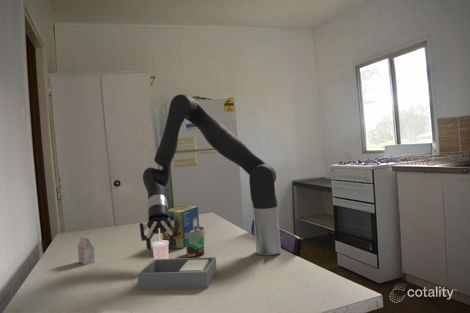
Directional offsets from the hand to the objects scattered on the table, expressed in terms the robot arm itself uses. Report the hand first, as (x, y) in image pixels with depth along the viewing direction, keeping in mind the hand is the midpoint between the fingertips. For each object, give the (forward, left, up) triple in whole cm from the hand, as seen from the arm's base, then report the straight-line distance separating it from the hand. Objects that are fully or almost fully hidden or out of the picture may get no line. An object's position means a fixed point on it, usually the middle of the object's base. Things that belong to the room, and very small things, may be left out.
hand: (160, 247), depth 121 cm
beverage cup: (+1, -2, -8) cm, 8 cm away
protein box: (+3, -34, -8) cm, 34 cm away
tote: (-10, +13, -7) cm, 19 cm away
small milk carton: (+35, -11, -8) cm, 37 cm away
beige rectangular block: (-15, +13, -6) cm, 21 cm away
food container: (-9, -16, -8) cm, 20 cm away
